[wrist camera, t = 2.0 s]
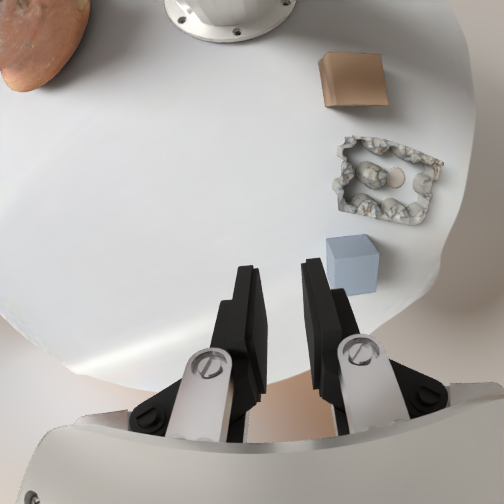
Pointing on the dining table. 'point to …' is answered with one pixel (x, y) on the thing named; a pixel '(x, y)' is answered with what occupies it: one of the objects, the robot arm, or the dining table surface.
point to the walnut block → (352, 79)
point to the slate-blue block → (352, 264)
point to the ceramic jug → (38, 39)
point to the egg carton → (395, 178)
